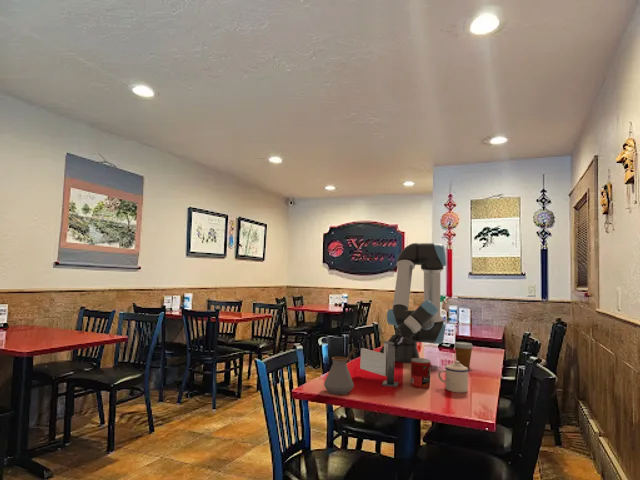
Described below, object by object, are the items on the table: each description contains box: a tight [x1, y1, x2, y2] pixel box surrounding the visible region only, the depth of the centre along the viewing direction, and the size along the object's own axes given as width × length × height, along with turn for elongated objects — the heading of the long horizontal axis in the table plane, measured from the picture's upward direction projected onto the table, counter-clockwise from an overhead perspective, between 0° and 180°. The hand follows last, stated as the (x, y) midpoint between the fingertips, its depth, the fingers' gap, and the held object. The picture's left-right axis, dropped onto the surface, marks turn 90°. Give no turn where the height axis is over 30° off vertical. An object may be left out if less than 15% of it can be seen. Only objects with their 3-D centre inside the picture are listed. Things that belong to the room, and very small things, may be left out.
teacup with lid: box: [437, 360, 469, 394], centre depth 182 cm, size 12×9×12 cm
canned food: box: [410, 357, 431, 390], centre depth 184 cm, size 8×8×11 cm
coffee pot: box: [323, 347, 359, 395], centre depth 175 cm, size 21×12×15 cm, turn 152°
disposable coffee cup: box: [453, 341, 474, 368], centre depth 233 cm, size 10×10×12 cm
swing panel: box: [359, 340, 394, 377], centre depth 193 cm, size 20×2×14 cm, turn 33°
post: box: [381, 345, 400, 388], centre depth 185 cm, size 6×6×16 cm
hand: (371, 364), depth 198 cm, fingers closed
